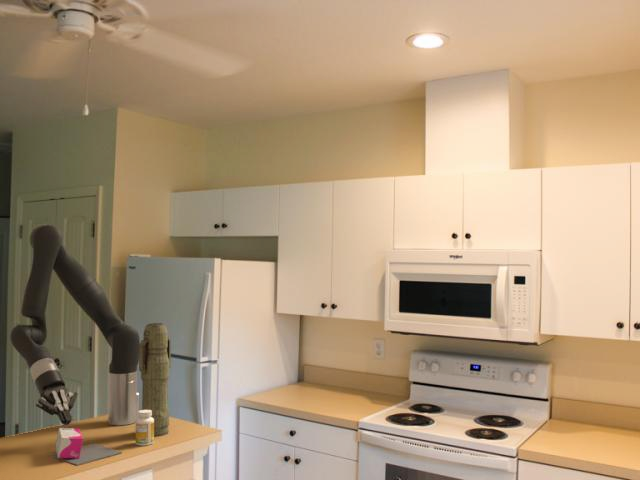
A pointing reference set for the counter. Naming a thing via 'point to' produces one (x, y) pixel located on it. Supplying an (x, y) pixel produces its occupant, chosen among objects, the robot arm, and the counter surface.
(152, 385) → the thermos
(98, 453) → the rubber mat
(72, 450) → the supplement box
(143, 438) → the supplement bottle
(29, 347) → the robot arm
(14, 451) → the counter surface
